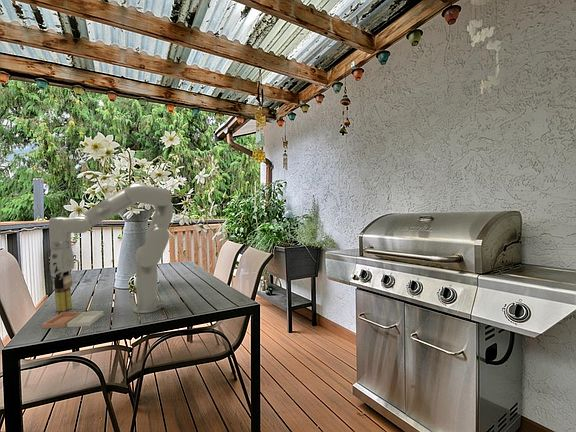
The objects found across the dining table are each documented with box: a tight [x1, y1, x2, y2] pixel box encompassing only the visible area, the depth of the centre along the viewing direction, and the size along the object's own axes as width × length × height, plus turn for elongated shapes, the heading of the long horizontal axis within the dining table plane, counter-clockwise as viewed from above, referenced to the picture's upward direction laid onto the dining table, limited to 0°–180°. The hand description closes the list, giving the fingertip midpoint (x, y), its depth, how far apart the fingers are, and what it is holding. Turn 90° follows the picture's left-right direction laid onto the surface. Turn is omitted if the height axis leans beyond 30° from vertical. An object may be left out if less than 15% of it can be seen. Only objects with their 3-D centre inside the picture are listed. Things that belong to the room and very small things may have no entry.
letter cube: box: [52, 274, 73, 291], centre depth 137 cm, size 5×5×5 cm
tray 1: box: [41, 311, 83, 329], centre depth 138 cm, size 8×14×2 cm, turn 8°
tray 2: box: [66, 310, 105, 328], centre depth 139 cm, size 8×14×2 cm, turn 8°
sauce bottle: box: [54, 271, 73, 313], centre depth 152 cm, size 7×6×20 cm
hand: (63, 286), depth 137 cm, fingers closed on letter cube, 5 cm apart
